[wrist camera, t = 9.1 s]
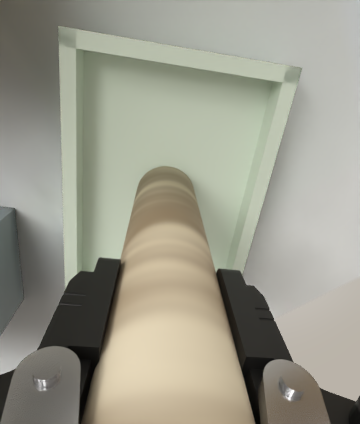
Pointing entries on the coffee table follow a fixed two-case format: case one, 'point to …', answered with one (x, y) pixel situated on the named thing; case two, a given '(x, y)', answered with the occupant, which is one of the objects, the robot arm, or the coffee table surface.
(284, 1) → the coffee table surface
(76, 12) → the coffee table surface
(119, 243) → the tray
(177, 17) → the coffee table surface
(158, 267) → the dowel
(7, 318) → the grey square box
